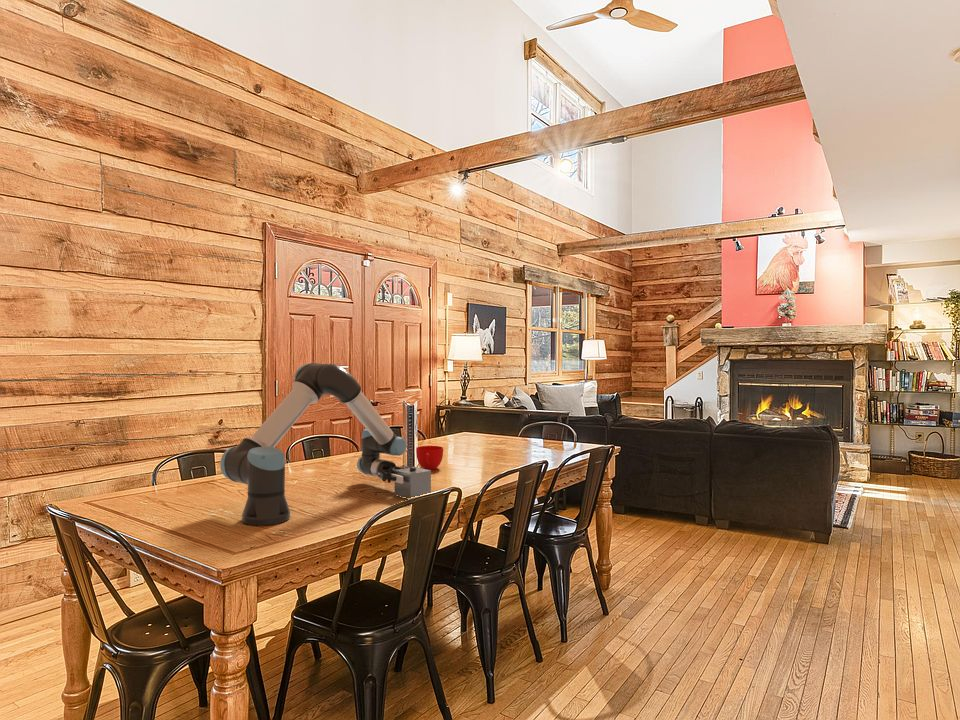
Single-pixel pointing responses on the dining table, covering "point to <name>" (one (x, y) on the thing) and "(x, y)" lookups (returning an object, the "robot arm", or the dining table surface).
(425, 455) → the ceramic cup
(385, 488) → the dining table surface
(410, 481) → the metal cover
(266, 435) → the robot arm
